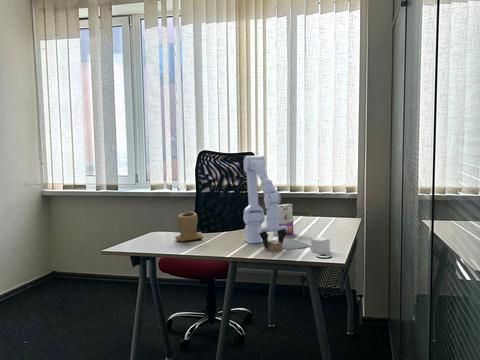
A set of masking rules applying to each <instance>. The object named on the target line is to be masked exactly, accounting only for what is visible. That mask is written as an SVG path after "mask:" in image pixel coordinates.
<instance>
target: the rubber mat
mask: <svg viewBox="0 0 480 360" xmlns="http://www.w3.org/2000/svg"><path fill="white" fill-rule="evenodd" d="M308 247H309V248H311V244H308V243H305V242H303V241H299V240H297V239H284V240H283V244H282V250H285V251H291V250H299V249H307V248H308Z"/></svg>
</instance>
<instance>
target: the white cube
mask: <svg viewBox="0 0 480 360" xmlns="http://www.w3.org/2000/svg"><path fill="white" fill-rule="evenodd" d="M310 245H311V247H310V252H311V253H315V254H316V253H317V254H318V255H319V254H320V255H321V254H322V255H323V254H325V253H326V254H327V253H330V252H331V240H330V238H327V237H321V236H319V237H313V238H310Z"/></svg>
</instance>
